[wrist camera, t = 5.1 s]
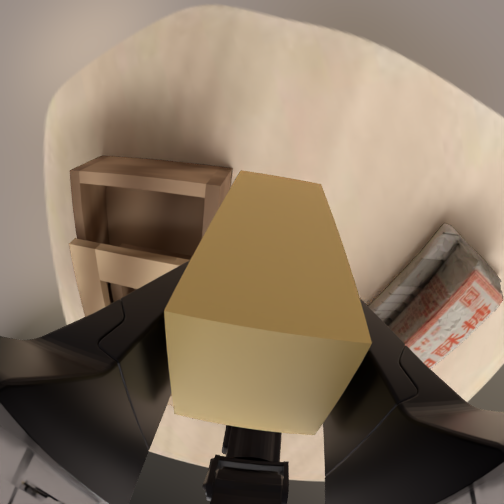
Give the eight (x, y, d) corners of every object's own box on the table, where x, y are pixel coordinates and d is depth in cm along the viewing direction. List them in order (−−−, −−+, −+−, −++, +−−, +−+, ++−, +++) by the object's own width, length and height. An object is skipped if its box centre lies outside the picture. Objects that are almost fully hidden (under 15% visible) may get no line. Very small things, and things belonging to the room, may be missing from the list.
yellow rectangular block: (320, 184, 13) (371, 343, 5) (304, 254, 14) (314, 435, 6) (240, 170, 13) (164, 311, 5) (231, 241, 14) (174, 413, 6)
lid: (212, 263, 18) (201, 291, 16) (205, 387, 25) (199, 413, 22) (75, 238, 18) (52, 258, 16) (104, 360, 25) (92, 381, 22)
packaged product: (471, 246, 15) (521, 304, 17) (441, 216, 20) (496, 273, 21) (309, 399, 24) (382, 421, 25) (307, 359, 28) (376, 386, 30)
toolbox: (232, 168, 19) (220, 186, 16) (214, 354, 28) (206, 386, 25) (101, 155, 20) (69, 170, 16) (121, 332, 29) (105, 359, 25)
